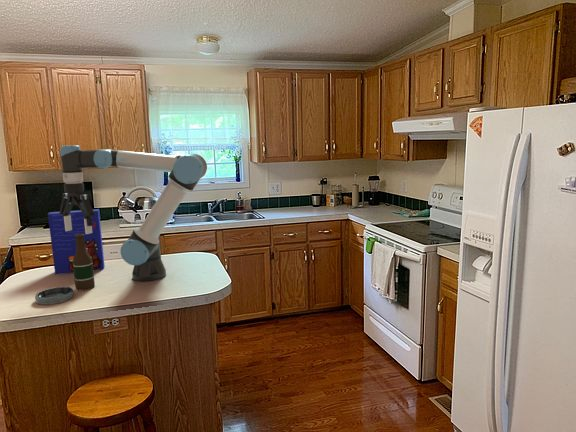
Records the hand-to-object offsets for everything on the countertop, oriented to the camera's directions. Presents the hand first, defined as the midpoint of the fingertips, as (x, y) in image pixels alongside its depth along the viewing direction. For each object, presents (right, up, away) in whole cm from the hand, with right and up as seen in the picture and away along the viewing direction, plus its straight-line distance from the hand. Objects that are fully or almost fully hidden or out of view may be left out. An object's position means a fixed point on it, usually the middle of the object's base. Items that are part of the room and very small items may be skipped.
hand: (78, 232), depth 181 cm
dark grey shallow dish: (-5, -27, -9) cm, 29 cm away
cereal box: (-14, -20, +31) cm, 40 cm away
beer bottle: (+1, -25, +4) cm, 25 cm away
